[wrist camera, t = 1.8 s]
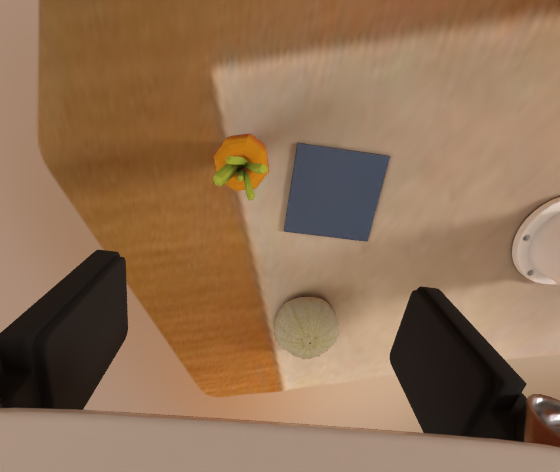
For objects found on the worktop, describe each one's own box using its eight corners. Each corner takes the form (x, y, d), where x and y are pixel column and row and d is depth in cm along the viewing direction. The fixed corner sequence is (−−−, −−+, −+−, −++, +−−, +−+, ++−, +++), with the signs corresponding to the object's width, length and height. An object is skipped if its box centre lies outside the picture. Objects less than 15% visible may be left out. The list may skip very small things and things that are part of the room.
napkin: (388, 155, 38) (390, 156, 38) (366, 240, 42) (367, 241, 42) (297, 142, 37) (297, 143, 37) (283, 230, 41) (284, 231, 41)
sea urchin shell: (340, 292, 43) (347, 355, 40) (331, 303, 50) (337, 357, 47) (271, 295, 43) (273, 359, 40) (273, 306, 50) (275, 361, 47)
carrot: (275, 133, 37) (277, 151, 23) (264, 175, 39) (260, 215, 25) (232, 121, 36) (208, 131, 22) (223, 164, 38) (196, 198, 24)
